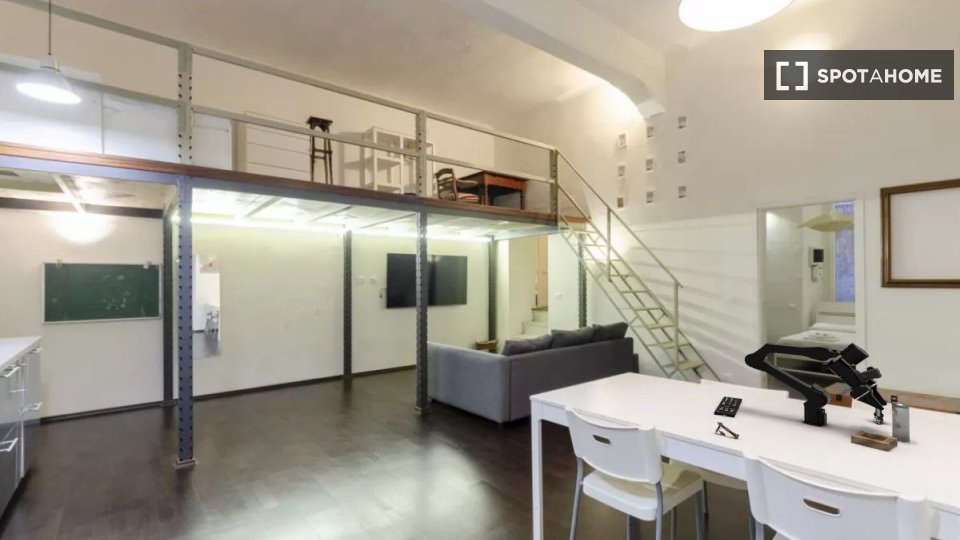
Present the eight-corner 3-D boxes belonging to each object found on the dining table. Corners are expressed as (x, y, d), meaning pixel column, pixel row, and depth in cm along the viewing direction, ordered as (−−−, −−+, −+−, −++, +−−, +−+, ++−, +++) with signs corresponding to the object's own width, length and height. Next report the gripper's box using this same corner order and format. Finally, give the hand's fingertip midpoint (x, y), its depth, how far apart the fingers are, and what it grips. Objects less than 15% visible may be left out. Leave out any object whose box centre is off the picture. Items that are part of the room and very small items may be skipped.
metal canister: (890, 439, 162) (889, 403, 162) (894, 436, 164) (893, 401, 165) (907, 443, 158) (907, 406, 158) (911, 440, 160) (911, 404, 161)
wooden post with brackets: (714, 429, 170) (719, 419, 169) (734, 443, 164) (739, 434, 163) (712, 430, 169) (717, 420, 168) (732, 444, 163) (737, 435, 162)
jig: (851, 442, 159) (851, 435, 159) (861, 437, 164) (861, 430, 164) (888, 451, 150) (887, 444, 150) (897, 445, 156) (897, 438, 156)
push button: (887, 426, 176) (886, 400, 176) (869, 423, 180) (868, 398, 180) (888, 422, 181) (887, 397, 181) (870, 419, 184) (870, 395, 185)
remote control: (713, 416, 192) (713, 411, 192) (724, 399, 218) (724, 395, 218) (734, 419, 187) (734, 414, 187) (742, 402, 213) (742, 397, 213)
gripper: (860, 363, 162) (903, 399, 154) (868, 356, 175) (908, 390, 167) (833, 381, 168) (873, 417, 160) (843, 374, 181) (880, 407, 172)
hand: (884, 407), depth 164 cm, fingers open, 9 cm apart
